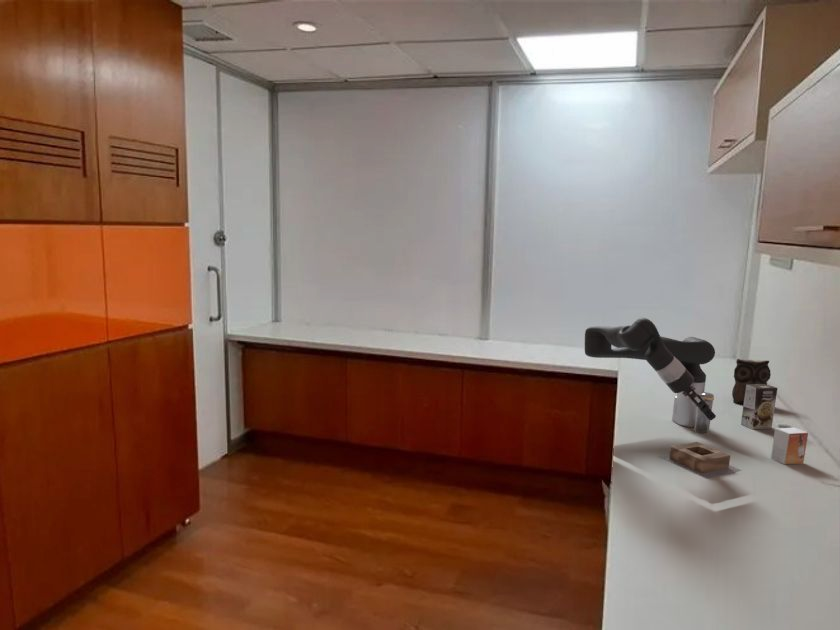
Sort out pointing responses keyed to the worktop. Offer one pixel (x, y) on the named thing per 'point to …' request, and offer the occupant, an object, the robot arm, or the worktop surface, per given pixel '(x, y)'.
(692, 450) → the socket block
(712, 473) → the base
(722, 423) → the worktop surface
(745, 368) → the owl
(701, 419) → the gold-rimmed metal cylinder
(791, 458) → the small box
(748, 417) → the coffee box
